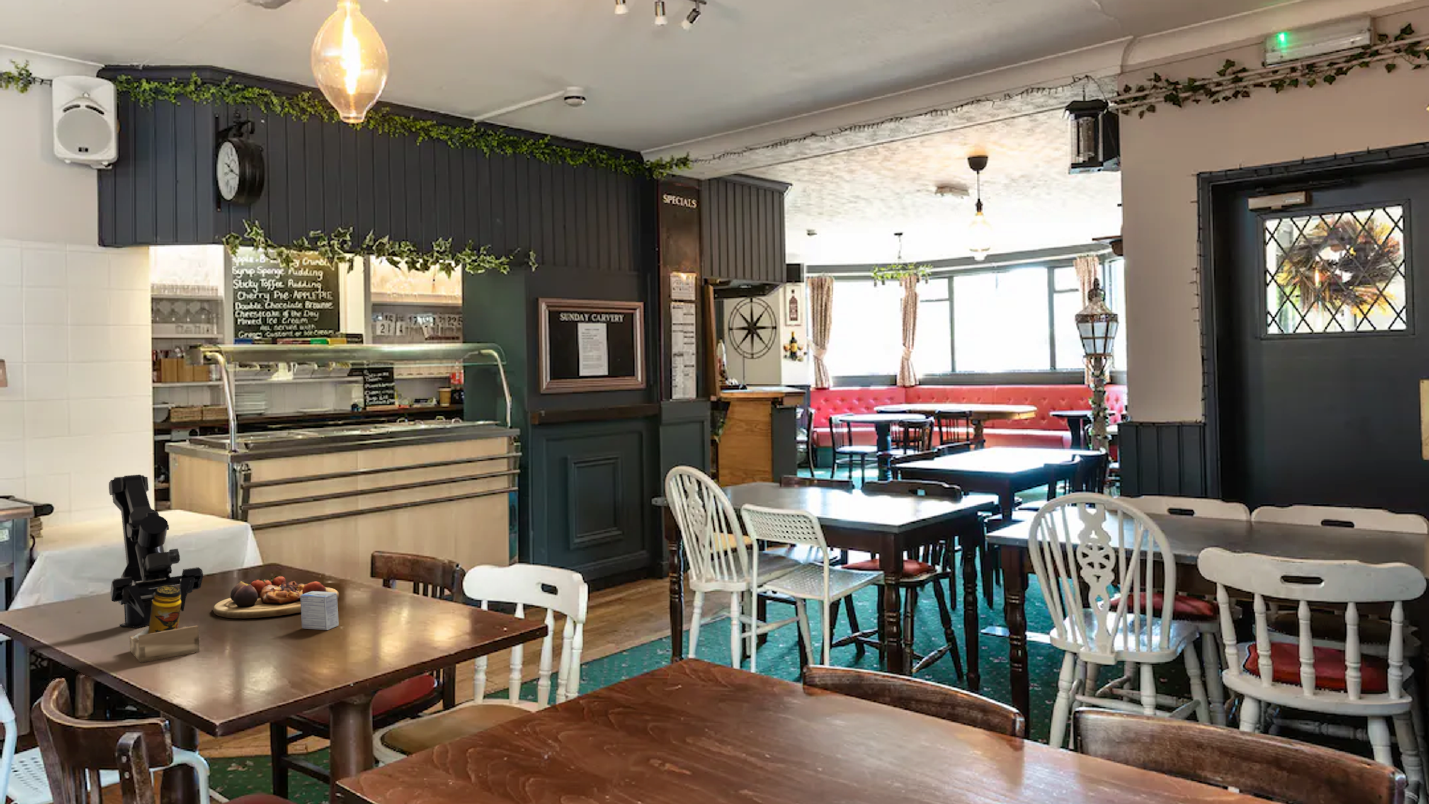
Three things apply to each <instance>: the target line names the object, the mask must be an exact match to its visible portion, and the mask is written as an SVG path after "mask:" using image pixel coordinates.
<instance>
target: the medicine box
mask: <svg viewBox="0 0 1429 804" xmlns="http://www.w3.org/2000/svg"><path fill="white" fill-rule="evenodd" d="M300 599H301V612H300V615H301V618H300V619H301V628H302V629H308V630H321V631H329V630H332V629H334V628H337V627H338V626H339V611H338V610H339V609H338V606H339V605H338V599H337V593H336V592H319V591H311V592H308V593H305V594H303V595H301V596H300Z"/></svg>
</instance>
